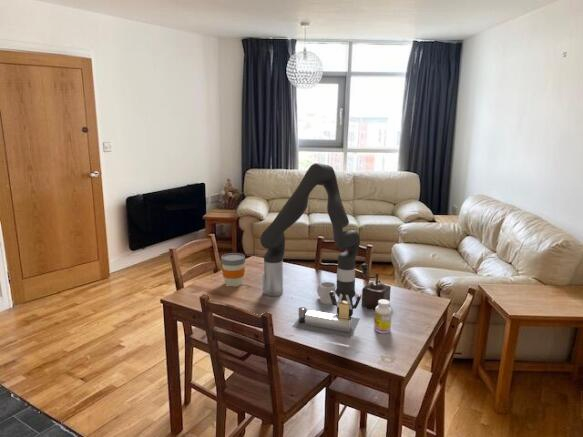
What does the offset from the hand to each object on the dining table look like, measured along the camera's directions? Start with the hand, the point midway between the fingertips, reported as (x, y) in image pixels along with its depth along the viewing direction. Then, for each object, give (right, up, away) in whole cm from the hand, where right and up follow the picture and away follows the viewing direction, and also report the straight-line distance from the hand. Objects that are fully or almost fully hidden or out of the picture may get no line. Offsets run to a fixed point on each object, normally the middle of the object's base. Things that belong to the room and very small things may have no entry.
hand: (344, 315), depth 180 cm
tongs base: (-9, -4, -2) cm, 10 cm away
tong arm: (-7, -4, -1) cm, 8 cm away
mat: (-7, -4, +1) cm, 9 cm away
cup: (-6, +1, +23) cm, 24 cm away
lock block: (0, 0, 0) cm, 0 cm away
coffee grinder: (+15, 0, +21) cm, 25 cm away
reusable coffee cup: (-53, +7, +44) cm, 69 cm away
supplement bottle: (+15, -6, -3) cm, 17 cm away
